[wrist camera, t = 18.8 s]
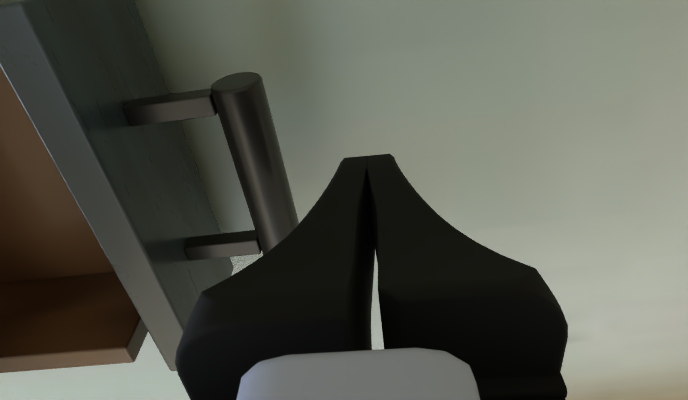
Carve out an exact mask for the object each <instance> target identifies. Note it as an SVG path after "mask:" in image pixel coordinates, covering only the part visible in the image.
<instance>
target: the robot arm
mask: <svg viewBox="0 0 688 400" xmlns="http://www.w3.org/2000/svg"><path fill="white" fill-rule="evenodd" d="M375 250H376V256H377V262H378V294H379V303H380V313H381V322H382V331H383V341H384V349H382V350H372V344H371V305H372V289H373V274H374V258H375ZM567 338H568V325H567V322H566V320H565V317H564V314H563V312H562V310H561V307H560V305H559V304H558V302H557V300H556V298H555V296H554V295H553V293H552V292H551V290H550V289H549V287H548V286H547V284H546V283H545V281H544V280H543V278H542V277H541V275H540V274H539V273H538V271H537V270H536V269H535V268H533V267H530V266H528V265H525V264H523V263H520V262H518V261H515V260H513V259H510V258H508V257H505V256H503V255H500V254H498V253H496V252H494V251H492V250H490V249H488V248H486V247H484V246H482V245H481V244H479V243H477V242H475V241H474V240H472V239H470V238H469V237H467V236H466V235H464V234H463V233H461V232H460V231H458V230H457V229H455V228H454V227H453V226H451V225H450V224H449V223H448V222H446V221H445V220H444V219H443V218H442V217H440V216H439V215H438V214H437V213H436V212H435V211H434V210H433V209H432V208H431V207H430V206H429V205H428V204H427V203H426V202H425V201H424V200H423V199H422V198H421V196H420V195H419V194H418V193H417V192H416V191H415V189H414V188H413V187H412V186H411V184H410V183H409V182H408V180H407V179H406V178H405V176H404V175H403V173H402V172H401V170H400V169H399V167H398V165H397V163H396V161H395V159H394V157H393V156H392V155H391V154H383V155H372V156H361V157H350V158H344V159H343V160H342V161H341V163H340V165H339V167H338V169H337V171H336V173H335V175H334V176H333V178H332V180H331V181H330V183H329V185H328V186H327V188H326V189H325V191H324V192H323V194H322V195H321V197H320V198H319V200H318V201H317V202H316V204H315V205H314V206H313V208H312V209H311V210H310V211H309V213H308V214H307V215H306V216H305V218H304V219H303V220H302V221H301V222H300V223H299V224H298V226H297V227H296V228H295V229H294V230H293V231H292V232H291V233H290V234H289V235H288V236H287V237H285V238H284V239H283V240H282V241H281V242H279V243H278V244H277V245H276V246H275V247H273V248H272V249H271V250H270V251H269V252H267V253H266V254H265V255H263V256H262V257H261V258H259V259H258V260H256V261H255V262H253V263H252V264H250V265H249V266H247V267H246V268H244V269H243V270H241V271H239V272H238V273H236V274H234V275H232V276H231V277H229V278H227V279H225V280H223V281H221V282H219V283H217V284H216V285H214V286H212V287H210V288H208V289H206V290H204V291H202V292H201V294H200V296H199V299H198V300H197V302H196V304H195V306H194V308H193V310H192V312H191V314H190V316H189V319H188V321H187V324H186V326H185V329H184V332H183V334H182V337H181V340H180V342H179V345H178V348H177V350H176V358H175V365H176V368H177V372H178V375H179V377H180V379H181V381H182V383H183V385H184V387H185V389H186V391H187V393H188V395H189V397H190V399H191V400H565V398H566V396H567V388H566V385H565V383H564V380H563V378H562V375H561V373H560V371H561V367H562V362H563V357H564V352H565V348H566V343H567Z"/></svg>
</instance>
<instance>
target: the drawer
mask: <svg viewBox="0 0 688 400" xmlns="http://www.w3.org/2000/svg"><path fill="white" fill-rule="evenodd" d="M217 113H218V115H219V118H220V121H221V124H222V127H223V131H224V134H225V137H226V140H227V143H228V146H229V149H230V152H231V155H232V159H233V162H234V165H235V168H236V171H237V174H238V177H239V180H240V184H241V187H242V190H243V193H244V196H245V199H246V202H247V205H248V208H249V212H250V215H251V218H252V221H253V224H254V227H255V230H250V231H240V232H231V233H222V234H221V232H220V229H219V227H218V224H217V221H216V219H215V216H214V213H213V211H212V208H211V205H210V203H209V200H208V197H207V195H206V192H205V189H204V187H203V184H202V181H201V179H200V176H199V173H198V170H197V168H196V165H195V162H194V160H193V157H192V154H191V152H190V149H189V146H188V144H187V141H186V138H185V136H184V133H183V130H182V128H181V125H180V122H179V120H186V119H193V118H201V117H208V116H215V115H216V114H217ZM298 224H299V222H298V218H297V214H296V210H295V206H294V202H293V198H292V194H291V190H290V186H289V182H288V178H287V174H286V171H285V167H284V163H283V159H282V155H281V151H280V147H279V143H278V139H277V135H276V131H275V127H274V123H273V120H272V116H271V112H270V108H269V104H268V100H267V96H266V92H265V88H264V84H263V80H262V77H261V76H260V75H259V74H257V73H253V72H242V73H236V74H232V75H228V76H225V77H223V78H221V79H219V80H217V81H216V82H214V83H213V84H212V86H211V88H210V89H203V90H196V91H189V92H181V93H174V94H169V93H168V90H167V87H166V85H165V82H164V79H163V77H162V74H161V71H160V69H159V66H158V63H157V60H156V58H155V55H154V52H153V50H152V47H151V44H150V42H149V39H148V36H147V34H146V31H145V28H144V26H143V23H142V20H141V18H140V15H139V12H138V10H137V7H136V4H135V1H134V0H0V373H6V372H18V371H31V370H43V369H56V368H68V367H80V366H93V365H105V364H117V363H130V362H134V361H135V360H136V357H137V355H138V353H139V351H140V348H141V346H142V344H143V342H144V339H145V337H146V335H147V333H148V331H149V333H150V335H151V337H152V339H153V340H154V342H155V344H156V346H157V347H158V349H159V351H160V353H161V355H162V356H163V358H164V360H165V362H166V364H167V365H168V367H169V369H170V370H171V371H177V368H176V365H175V358H176V350H177V348H178V345H179V342H180V340H181V337H182V334H183V332H184V329H185V326H186V324H187V321H188V319H189V316H190V314H191V312H192V310H193V308H194V306H195V304H196V302H197V300H198V299H199V296H200V294H201V292H202V291H204V290H206V289H208V288H210V287H212V286H214V285H216V284H217V283H219V282H221V281H223V280H225V279H227V278H229V277H231V275H232V271H233V268H234V267H233V264H232V262H231V259H230V257H232V256H242V255H252V254H260V253H261V250H262V252H263V255H265V254H266V253H267V252H269V251H270V250H271V249H272V248H273V247H275V246H276V245H277V244H278V243H279V242H281V241H282V240H283V239H284V238H285V237H287V236H288V235H289V234H290V233H291V232H292V231H293V230H294V229H295V228H296V227H297V226H298Z"/></svg>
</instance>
